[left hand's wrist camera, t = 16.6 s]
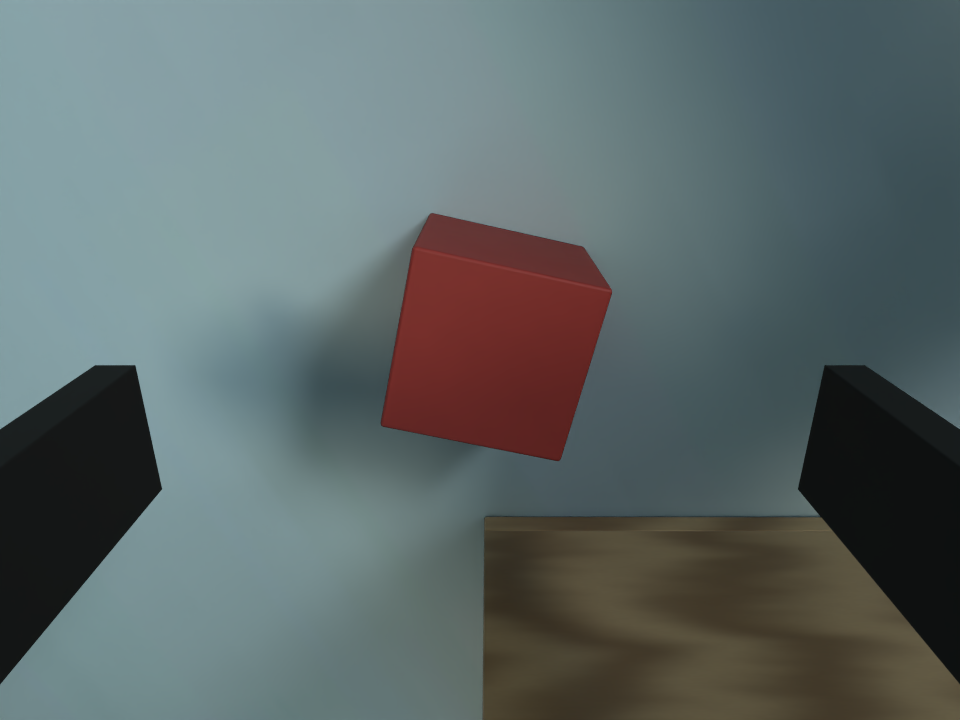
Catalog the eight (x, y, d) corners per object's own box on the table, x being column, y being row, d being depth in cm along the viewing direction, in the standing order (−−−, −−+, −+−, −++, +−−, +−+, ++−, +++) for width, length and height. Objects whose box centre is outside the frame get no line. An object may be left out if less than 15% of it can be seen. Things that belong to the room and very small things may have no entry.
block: (402, 357, 20) (379, 427, 16) (429, 212, 19) (412, 245, 14) (545, 386, 21) (560, 462, 16) (584, 246, 19) (613, 290, 15)
